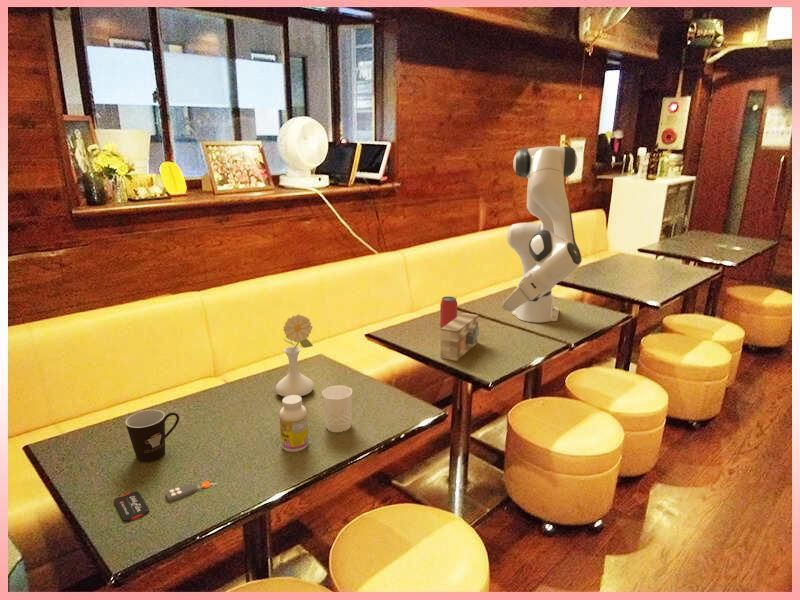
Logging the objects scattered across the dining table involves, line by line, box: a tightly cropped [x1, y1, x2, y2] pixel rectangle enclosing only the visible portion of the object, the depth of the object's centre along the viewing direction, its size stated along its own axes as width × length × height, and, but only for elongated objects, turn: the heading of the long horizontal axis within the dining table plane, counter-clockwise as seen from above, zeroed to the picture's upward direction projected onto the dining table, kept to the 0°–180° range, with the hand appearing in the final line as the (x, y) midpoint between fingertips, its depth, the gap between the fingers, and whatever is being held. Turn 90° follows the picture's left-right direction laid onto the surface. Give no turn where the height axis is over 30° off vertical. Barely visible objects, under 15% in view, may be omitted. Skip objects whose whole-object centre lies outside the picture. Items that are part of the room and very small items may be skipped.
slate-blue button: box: [473, 326, 480, 337], centre depth 201 cm, size 3×3×3 cm
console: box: [440, 312, 479, 362], centre depth 197 cm, size 19×6×11 cm, turn 151°
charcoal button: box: [466, 333, 476, 345], centre depth 195 cm, size 3×3×3 cm
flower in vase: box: [274, 313, 315, 398], centre depth 163 cm, size 13×11×25 cm
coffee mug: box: [124, 409, 180, 464], centre depth 135 cm, size 12×9×10 cm
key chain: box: [165, 480, 218, 503], centre depth 123 cm, size 13×4×2 cm, turn 125°
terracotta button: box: [458, 339, 465, 350], centre depth 190 cm, size 3×3×3 cm
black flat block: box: [113, 491, 150, 523], centre depth 117 cm, size 10×1×5 cm
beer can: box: [439, 296, 458, 329], centre depth 218 cm, size 7×7×12 cm
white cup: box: [321, 384, 353, 433], centre depth 147 cm, size 8×8×10 cm
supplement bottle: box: [278, 395, 309, 453], centre depth 138 cm, size 7×7×13 cm
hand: (505, 307), depth 185 cm, fingers closed
